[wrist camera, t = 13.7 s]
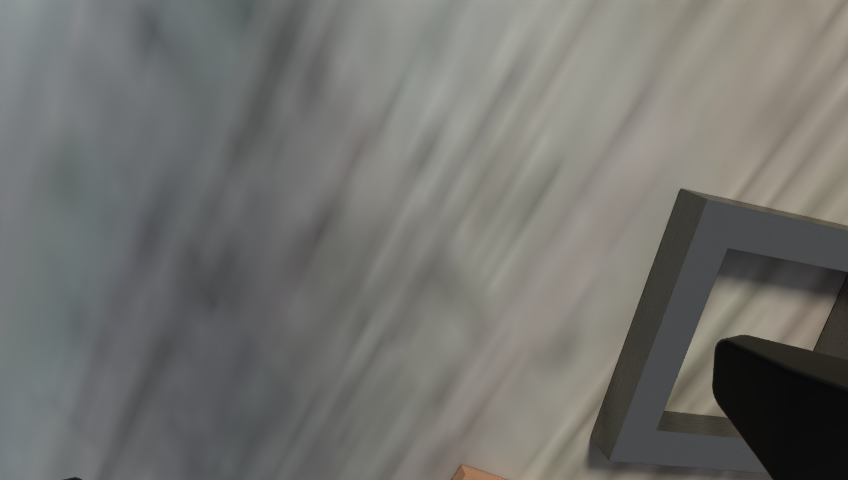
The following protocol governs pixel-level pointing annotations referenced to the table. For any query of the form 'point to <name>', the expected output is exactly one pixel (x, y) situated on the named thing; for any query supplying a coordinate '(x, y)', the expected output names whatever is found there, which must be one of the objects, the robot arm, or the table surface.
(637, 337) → the frame
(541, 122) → the table surface
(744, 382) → the robot arm
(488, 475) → the pad
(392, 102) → the table surface
